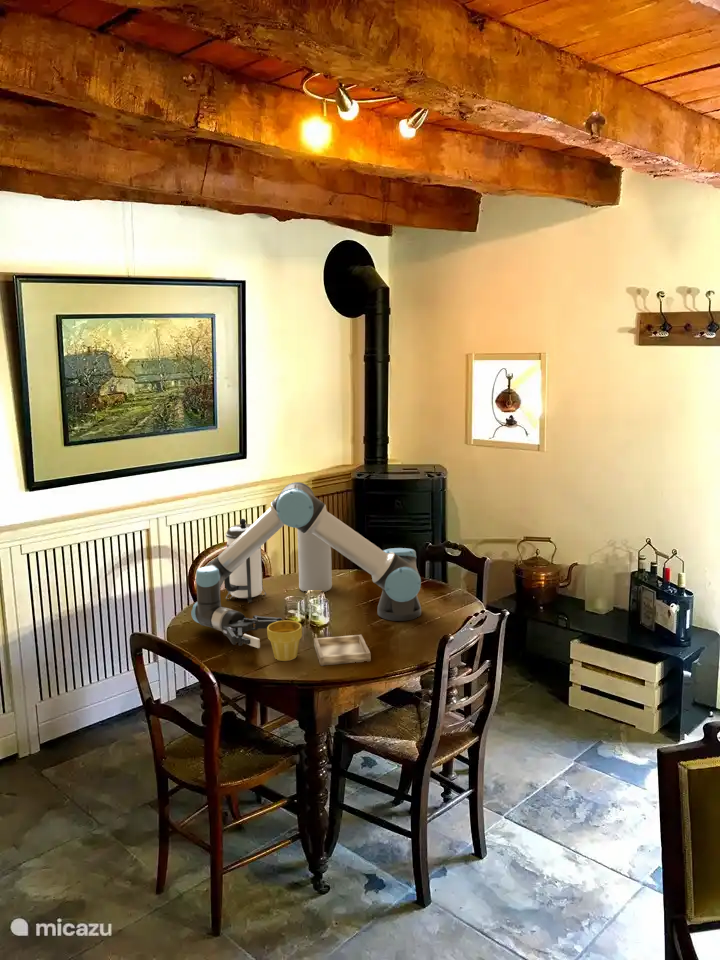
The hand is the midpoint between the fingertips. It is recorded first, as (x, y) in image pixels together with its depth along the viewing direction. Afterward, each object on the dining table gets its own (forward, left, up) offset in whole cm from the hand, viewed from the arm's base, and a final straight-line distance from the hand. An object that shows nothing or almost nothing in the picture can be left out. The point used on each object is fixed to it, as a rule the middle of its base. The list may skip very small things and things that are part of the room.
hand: (275, 636), depth 234 cm
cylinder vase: (-20, -61, -6) cm, 64 cm away
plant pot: (-3, +2, -6) cm, 7 cm away
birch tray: (-20, +3, -6) cm, 21 cm away
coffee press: (+7, -55, -6) cm, 56 cm away
